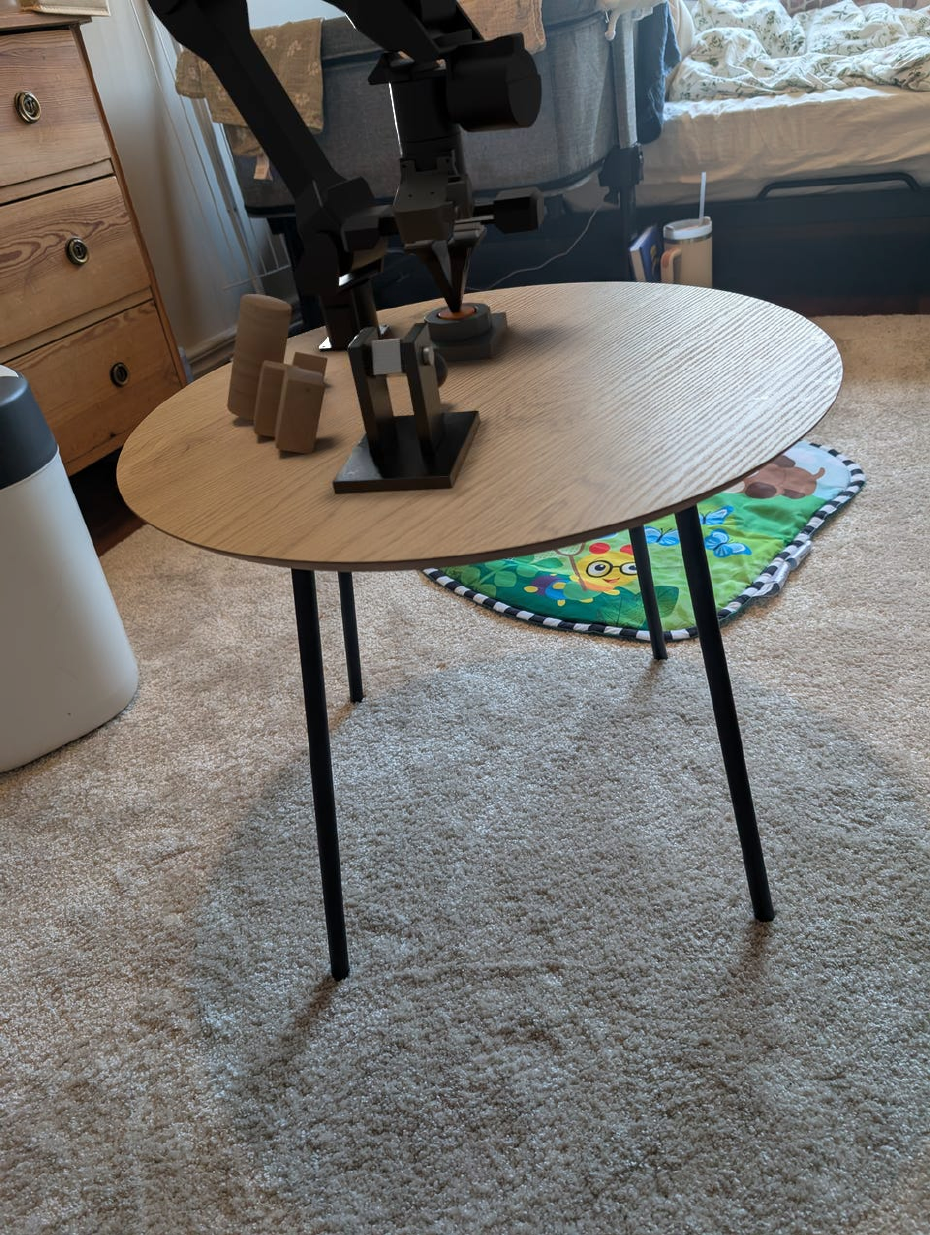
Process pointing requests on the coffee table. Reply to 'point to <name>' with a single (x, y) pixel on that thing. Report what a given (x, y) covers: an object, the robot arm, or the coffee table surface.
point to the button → (457, 313)
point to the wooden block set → (275, 377)
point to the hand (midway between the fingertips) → (456, 311)
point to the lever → (399, 361)
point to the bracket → (404, 425)
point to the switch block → (467, 334)
